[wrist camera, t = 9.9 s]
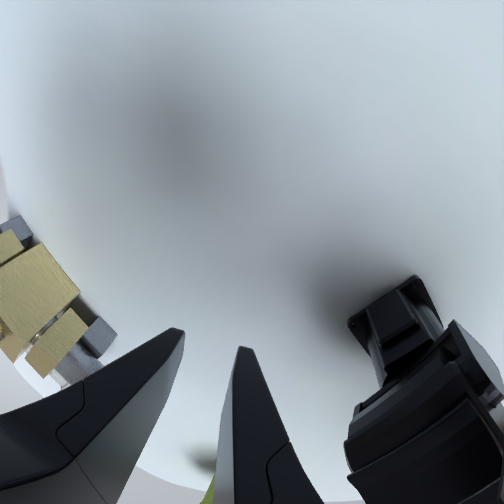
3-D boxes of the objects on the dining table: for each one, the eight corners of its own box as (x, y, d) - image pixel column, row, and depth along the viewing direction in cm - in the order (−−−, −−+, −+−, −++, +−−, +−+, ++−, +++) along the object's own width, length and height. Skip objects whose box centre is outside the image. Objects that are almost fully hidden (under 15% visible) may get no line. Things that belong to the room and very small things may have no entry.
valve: (125, 339, 25) (76, 411, 16) (103, 356, 26) (59, 419, 18) (19, 211, 21) (-53, 247, 12) (7, 239, 22) (-56, 277, 14)
